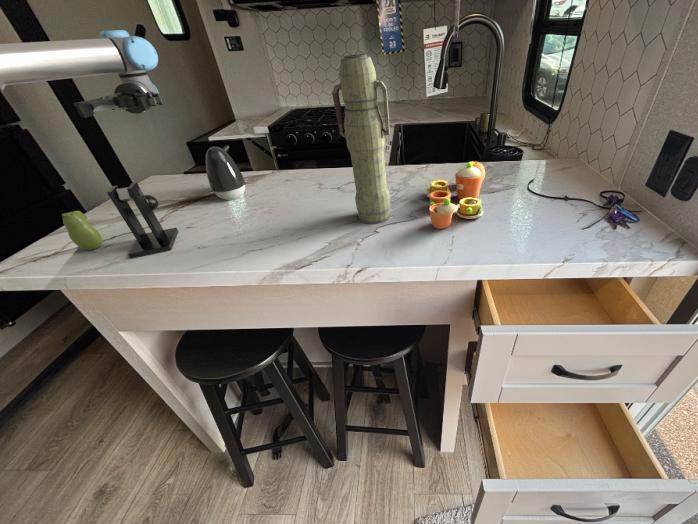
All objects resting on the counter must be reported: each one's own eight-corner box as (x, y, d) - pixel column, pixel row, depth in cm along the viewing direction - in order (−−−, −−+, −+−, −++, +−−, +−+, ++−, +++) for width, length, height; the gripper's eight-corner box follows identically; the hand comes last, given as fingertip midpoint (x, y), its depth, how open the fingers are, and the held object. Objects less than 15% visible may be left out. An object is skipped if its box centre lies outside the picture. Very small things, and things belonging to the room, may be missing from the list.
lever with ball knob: (146, 213, 90) (141, 198, 90) (163, 210, 91) (158, 195, 90) (116, 204, 76) (110, 186, 76) (136, 200, 77) (129, 183, 77)
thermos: (355, 210, 94) (330, 56, 72) (397, 208, 93) (385, 51, 71) (350, 224, 87) (321, 59, 65) (395, 222, 86) (382, 54, 64)
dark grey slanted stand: (141, 238, 89) (107, 183, 80) (178, 231, 91) (149, 176, 82) (130, 258, 81) (90, 199, 72) (171, 250, 83) (137, 191, 74)
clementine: (466, 192, 98) (468, 167, 94) (453, 185, 103) (454, 161, 99) (488, 186, 101) (491, 161, 96) (474, 179, 106) (476, 156, 101)
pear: (79, 255, 84) (50, 218, 78) (83, 246, 88) (56, 210, 81) (105, 249, 86) (79, 212, 79) (108, 240, 89) (83, 205, 83)
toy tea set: (426, 191, 101) (425, 157, 95) (479, 189, 100) (481, 155, 93) (424, 232, 81) (422, 193, 75) (489, 231, 79) (494, 191, 73)
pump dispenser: (256, 192, 110) (239, 142, 101) (232, 204, 103) (211, 153, 94) (233, 189, 114) (215, 141, 104) (209, 201, 107) (186, 150, 97)
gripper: (185, 106, 105) (173, 118, 89) (94, 117, 99) (63, 132, 83) (173, 77, 100) (158, 84, 84) (77, 87, 95) (41, 97, 79)
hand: (111, 108), depth 84 cm, fingers open, 13 cm apart
